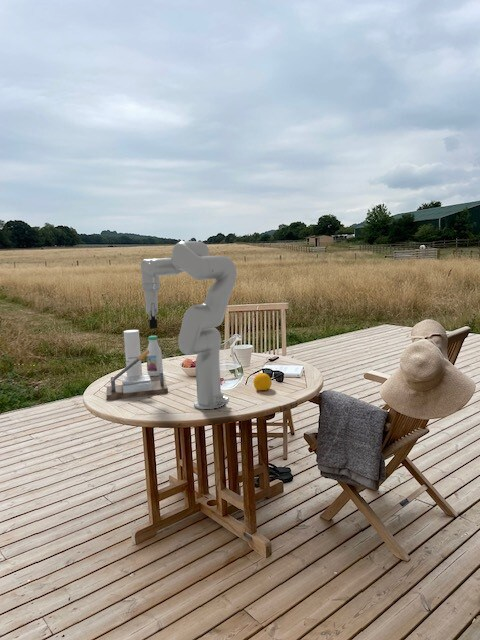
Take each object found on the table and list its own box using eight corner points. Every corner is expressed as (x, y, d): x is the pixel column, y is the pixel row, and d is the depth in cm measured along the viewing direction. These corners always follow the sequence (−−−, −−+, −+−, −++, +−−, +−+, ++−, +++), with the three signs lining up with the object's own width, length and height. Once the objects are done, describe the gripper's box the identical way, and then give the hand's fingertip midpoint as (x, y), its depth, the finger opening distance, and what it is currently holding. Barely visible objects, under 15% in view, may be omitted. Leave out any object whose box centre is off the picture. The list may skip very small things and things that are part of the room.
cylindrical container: (138, 384, 215) (135, 332, 211) (124, 383, 217) (120, 332, 213) (144, 379, 222) (141, 329, 218) (131, 379, 223) (127, 329, 220)
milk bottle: (157, 371, 236) (155, 334, 233) (166, 374, 231) (163, 335, 228) (144, 375, 231) (142, 336, 228) (152, 377, 225) (150, 338, 222)
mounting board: (106, 400, 193) (106, 395, 193) (107, 390, 206) (106, 386, 206) (168, 392, 200) (167, 388, 200) (164, 384, 213) (164, 380, 213)
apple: (271, 392, 195) (270, 375, 193) (252, 392, 196) (252, 375, 194) (272, 387, 202) (271, 370, 201) (254, 387, 203) (254, 370, 202)
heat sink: (111, 394, 193) (110, 381, 193) (111, 386, 206) (110, 373, 206) (164, 388, 199) (164, 375, 199) (161, 380, 212) (160, 368, 212)
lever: (112, 382, 197) (111, 381, 197) (112, 380, 202) (111, 378, 201) (149, 352, 200) (148, 350, 200) (149, 350, 204) (147, 349, 204)
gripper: (141, 286, 206) (144, 326, 209) (143, 289, 192) (145, 331, 195) (158, 285, 208) (160, 325, 211) (160, 288, 193) (163, 330, 196)
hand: (153, 328), depth 203 cm, fingers closed
